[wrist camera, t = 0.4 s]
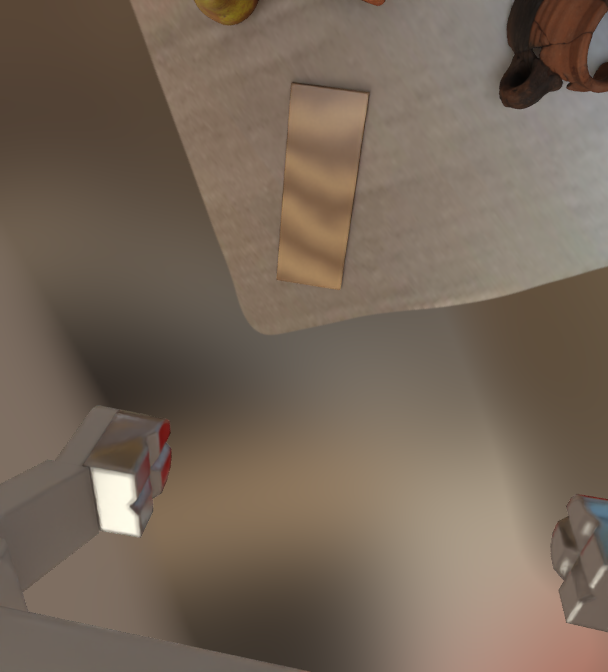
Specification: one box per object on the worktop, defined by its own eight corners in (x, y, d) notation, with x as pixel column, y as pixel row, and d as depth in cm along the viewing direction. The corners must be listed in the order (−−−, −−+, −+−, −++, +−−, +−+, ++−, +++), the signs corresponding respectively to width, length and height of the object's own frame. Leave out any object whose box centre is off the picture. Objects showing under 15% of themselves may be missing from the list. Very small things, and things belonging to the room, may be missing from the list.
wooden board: (292, 82, 52) (291, 83, 51) (369, 92, 51) (369, 93, 51) (277, 277, 63) (276, 280, 62) (340, 287, 62) (340, 290, 62)
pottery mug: (561, -77, 43) (648, -69, 37) (607, 10, 49) (689, 30, 43) (451, 62, 47) (515, 91, 41) (506, 129, 52) (569, 162, 46)
